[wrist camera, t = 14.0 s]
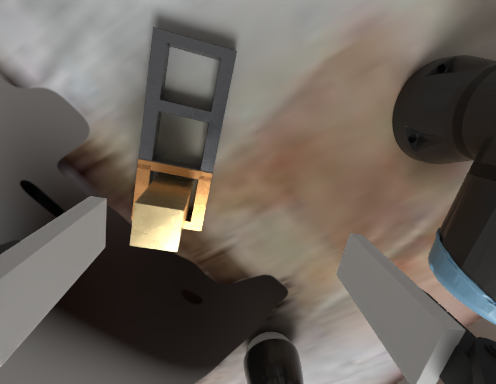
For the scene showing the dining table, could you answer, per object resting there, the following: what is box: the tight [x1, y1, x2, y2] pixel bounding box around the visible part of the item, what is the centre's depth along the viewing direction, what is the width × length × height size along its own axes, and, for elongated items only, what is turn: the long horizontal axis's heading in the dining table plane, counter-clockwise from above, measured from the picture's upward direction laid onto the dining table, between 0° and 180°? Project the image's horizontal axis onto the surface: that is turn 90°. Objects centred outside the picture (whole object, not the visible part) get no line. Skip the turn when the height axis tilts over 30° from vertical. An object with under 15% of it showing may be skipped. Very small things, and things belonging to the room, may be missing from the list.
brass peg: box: [130, 174, 194, 252], centre depth 33 cm, size 5×5×12 cm
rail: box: [132, 27, 237, 231], centre depth 35 cm, size 10×25×2 cm, turn 167°
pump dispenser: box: [244, 332, 304, 384], centre depth 43 cm, size 10×10×15 cm
